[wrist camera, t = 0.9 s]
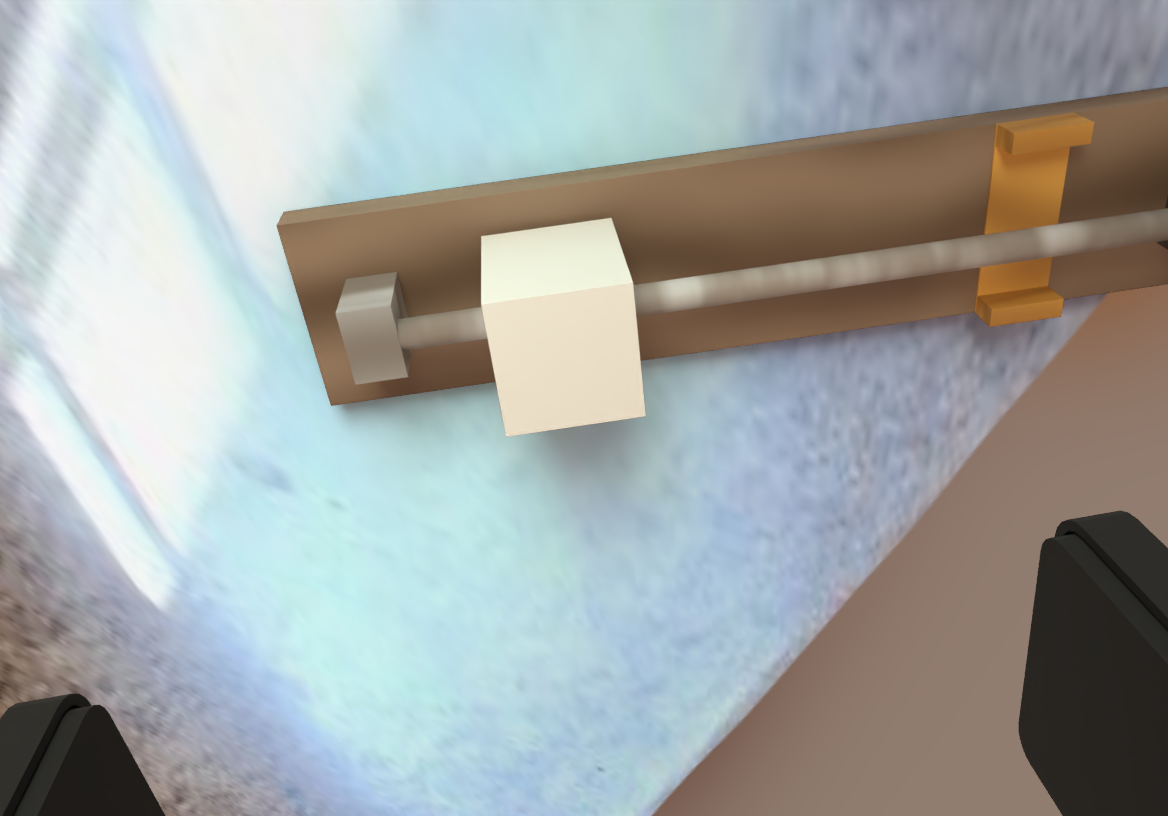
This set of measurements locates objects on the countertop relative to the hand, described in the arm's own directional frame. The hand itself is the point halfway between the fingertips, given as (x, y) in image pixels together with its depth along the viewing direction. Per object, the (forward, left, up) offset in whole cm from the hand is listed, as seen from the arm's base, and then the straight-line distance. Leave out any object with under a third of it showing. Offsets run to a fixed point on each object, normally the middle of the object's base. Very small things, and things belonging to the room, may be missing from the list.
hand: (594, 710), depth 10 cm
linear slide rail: (+8, +10, -30) cm, 32 cm away
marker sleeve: (+8, 0, -28) cm, 29 cm away
